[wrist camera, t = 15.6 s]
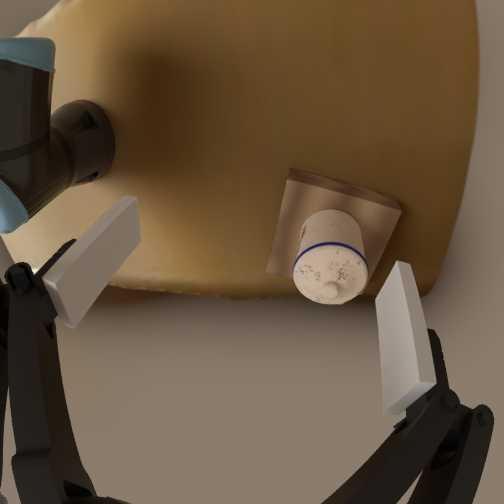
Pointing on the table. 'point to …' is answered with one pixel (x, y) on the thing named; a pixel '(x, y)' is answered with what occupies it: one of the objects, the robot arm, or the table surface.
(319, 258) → the teacup with lid
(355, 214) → the wooden square block
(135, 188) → the table surface
